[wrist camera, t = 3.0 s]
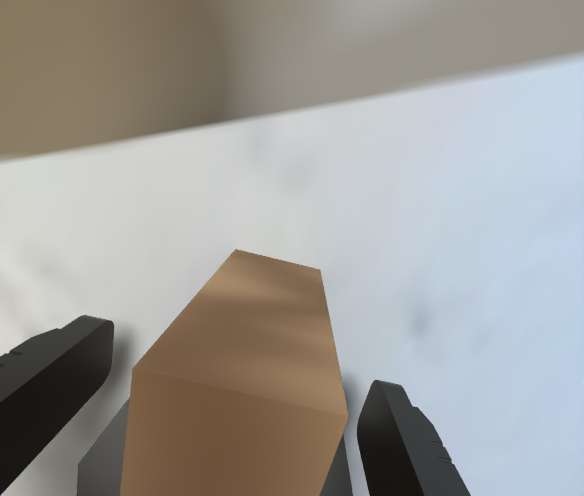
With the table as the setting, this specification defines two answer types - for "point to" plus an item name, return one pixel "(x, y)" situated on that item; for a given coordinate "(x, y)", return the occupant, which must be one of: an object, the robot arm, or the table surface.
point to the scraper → (233, 396)
